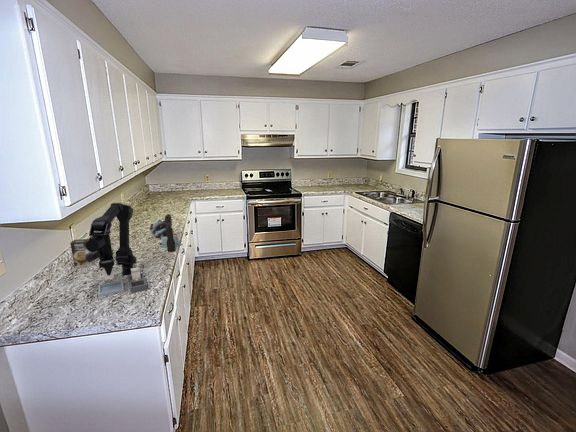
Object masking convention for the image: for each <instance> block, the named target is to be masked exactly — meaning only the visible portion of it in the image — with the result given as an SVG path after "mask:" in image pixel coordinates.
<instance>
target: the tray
mask: <svg viewBox="0 0 576 432" xmlns="http://www.w3.org/2000/svg"><path fill="white" fill-rule="evenodd" d="M97 286H98V289H97V290H98V297H99V298H100V297H101V298H102V297H105V296H109V295H114V294H119V293H123V292H125V289H124V287H125V286H124V282H123V279H122V280H118V281H113V282H107V283H102V284H98V285H97Z"/></svg>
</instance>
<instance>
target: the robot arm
mask: <svg viewBox="0 0 576 432" xmlns="http://www.w3.org/2000/svg"><path fill="white" fill-rule="evenodd" d="M133 213H134V209H133V207H132V206H131V205H127V204H124V203H122V202H112V203H111V204H110V206H109V208H107V210H106V211H105V212H104V213H103V214H102V215H101V216H99V217H96V218H95V219H94V220H93V221H92V222H91V224H90V229H89V234H88V236H89V237H88V239H89V241H87V243H86V248H87V250H88V251H90V253H88V254H86V255H85V258H86V260H87V261H88V262H89V263H90V262H92V261H93V260H94V261H95V260H97V259H98V268H99V269H103V267H104V269H105V271H106V273H107V275H108V276H109V275H110V274H111V271H112V268H113V269H114V266H115V262H116V265H117V266H121V269H122V270H121V276H122V277H125V276H129V275H131V268H134V265H135V264H137V257H136V256H135V254H133V250H132V249H131V247H130V221H131V219H132V218H133ZM115 218H116V219H117V221H118V224H119V226H118V227H119V230H118V231H119V233H118V234H119V235H118V236H119V238H118V239H119V247H118V249H117V250H116V251H115V256H114V251H113V250H114V249H113V248H112V242H111V233H112V231H111V229H112V226H113V224H112V222H113V220H115ZM114 257H115V260H114Z"/></svg>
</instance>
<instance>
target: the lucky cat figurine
mask: <svg viewBox="0 0 576 432" xmlns="http://www.w3.org/2000/svg"><path fill="white" fill-rule="evenodd" d="M148 229H149V231H150V233H152V234H153V235H154V237H155V238H156V239H160V238H161V237H165V236H166V223H165V219H164V220H161V219H158V220H157V221H154V223H150V226H149V228H148Z"/></svg>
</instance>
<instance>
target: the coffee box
mask: <svg viewBox="0 0 576 432" xmlns="http://www.w3.org/2000/svg"><path fill="white" fill-rule="evenodd" d="M87 241H89V238H83V239H82V238H81V239H73V240H72V241H71V242H70V243H69V244H70V248H71V255H72V261H73V267H74V269H80V268H90V267H91V268H92V266H93V265H94V264H95V260H93V261H92V262H90V263H89V262H88V261H87V260H86V258H85V255H86V254H88V253H90V251H88V250H87V248H86V243H87Z"/></svg>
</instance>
